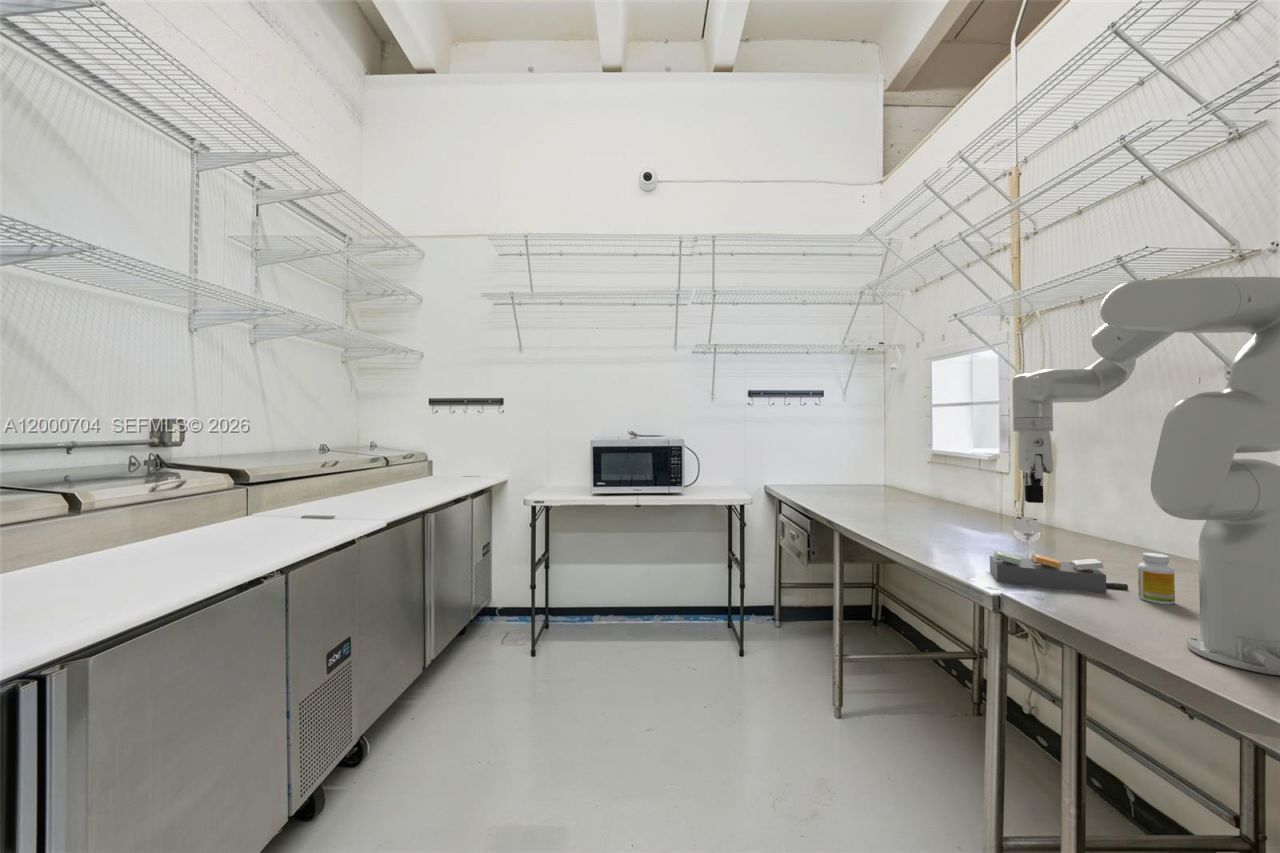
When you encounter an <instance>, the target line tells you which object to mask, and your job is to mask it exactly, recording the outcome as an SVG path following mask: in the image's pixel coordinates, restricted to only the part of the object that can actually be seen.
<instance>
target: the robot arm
mask: <svg viewBox="0 0 1280 853" xmlns="http://www.w3.org/2000/svg"><path fill="white" fill-rule="evenodd" d="M1099 310H1100V317H1101V320H1102V321H1103V322H1104V324H1103V325H1102V326H1100V327H1099V328H1098V329H1096V330H1095V331H1094V332H1093V334H1092V336H1091V340H1090V341H1091V346H1092V348H1093V350H1095V352H1096V353H1097V354H1098V355H1099V357H1101V358H1100V359H1098V360H1097V361H1095V362H1094V363H1092V364H1091V365H1090V366H1088V367H1085V368H1048V369H1041V370H1039V371H1035V372H1033V373H1023V374H1018V375H1014V377H1013V379H1012V431H1013V432H1018V440H1017V443H1018V445H1017V446H1018V449H1017V451H1018V452H1017V455H1018V467H1019V468H1018V469H1019V470H1021V471H1022V472H1024V501H1025V502H1026V503H1031V504H1032V503H1033V504H1043V503H1044V473H1045V474H1052V473H1053V472H1054V464H1053V462H1054V461H1053V460H1054V459H1053V449H1052V448H1053V447H1052V439H1051V434H1050V432H1054V415H1053V414H1054V411H1053V408H1054V407H1053V406H1054V405H1053V404H1054V403H1057V404H1058V403H1061V404H1062V403H1089V402H1093V401H1096V400H1099V399H1102V398H1104V397H1105V396H1107V395H1108V394H1110V393H1112V392H1113V391H1115V390H1116V389H1118V388H1119V387H1121V386H1122V385H1124V384H1125V383H1127V381H1128V380H1129V379H1130V378H1131V376H1132V374H1133V372H1134V370H1135V368H1136V364H1137V363H1136V362H1137V359H1138V358H1140V357H1141V356H1143V355H1144V354H1146V353H1147V352H1149V351H1151V349H1153V348H1155V347H1156V346H1158V345H1159V344H1160V343H1162V342H1163V341H1165V340H1167V339H1168V338H1169V337H1171V336H1172V335H1174V334H1175V333H1185V334H1186V333H1187V334H1204V333H1205V334H1206V333H1207V334H1211V333H1212V334H1215V333H1216V334H1219V333H1220V334H1221V333H1224V334H1226V333H1228V334H1229V333H1246V334H1250V335H1252V338H1251V339H1249V341H1248V342H1247V343H1246V344H1245V345H1244V346H1243V347H1242V348H1241V349H1240V350H1239V352H1238V353H1237V354H1236V355H1235V358H1234V359H1233V361H1232V364H1231V366H1230V371H1229V372H1230V373H1229V377H1228V379H1227V383H1226V386H1225V388H1224V390H1223V391H1205V392H1198V393H1194V394H1191V395H1189V396H1187V397H1185V398H1182V399H1181V400H1179V401H1178V402H1177V403H1176V404H1175V405H1173V407H1172V408H1171V409H1170V411H1169V412H1168V413H1167V414H1166V416H1165V419H1164V420H1163V424H1162V427H1161V428H1162V429H1161V432H1160V436H1159V439H1158V440H1159V441H1158V443H1157V444H1158V445H1157V450H1156V454H1155V459H1154V463H1153V466H1152V472H1151V477H1150V492H1151V496H1152V498H1153V501H1154V502H1155V504H1156V505H1157V506H1158V508H1159V509H1160V510H1162V511H1163V512H1165V514H1168V515H1170V516H1171V517H1174V518H1177V519H1181V520H1188V521H1205V522H1204V524H1203V526H1202V528H1201V531H1200V533H1199V534H1200V535H1199V539H1198V583H1199V584H1198V586H1199V588H1198V589H1199V624H1200V625H1199V626H1200V627H1199V629H1200V631H1199V632H1200V633H1199V634H1198V635H1193V636H1188V637H1187V638H1186V647H1187V648H1188V649H1189V650H1191V652H1193V653H1194V654H1195V653H1196V654H1197V655H1198V656H1201V657H1203V658H1206V659H1209V660H1211V661H1214V662H1217V663H1220V664H1223V665H1227V666H1230V667H1233V668H1236V669H1237V668H1238V669H1242V670H1245V671H1249V672H1250V671H1251V672H1255V673H1261V674H1266V675H1273V676H1279V677H1280V465H1278V464H1276V463H1273V462H1270V461H1266V460H1262V459H1261V460H1260V459H1256V458H1254V459H1253V458H1234V457H1235V454H1250V453H1251V454H1254V453H1255V454H1256V453H1258V454H1259V453H1273V452H1279V451H1280V277H1278V276H1232V277H1231V276H1210V277H1208V276H1205V277H1185V278H1168V279H1167V278H1166V279H1135V280H1134V279H1133V280H1130V281H1126V282H1124V283H1121V284H1119V285H1117V286H1115V287H1114V288H1113V289H1111V290H1110V291H1109V292H1108V293H1107V294H1106V295H1105V297H1104V298H1103V300H1102V302H1101V306H1100V308H1099Z"/></svg>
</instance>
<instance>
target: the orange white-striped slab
mask: <svg viewBox="0 0 1280 853" xmlns="http://www.w3.org/2000/svg"><path fill="white" fill-rule="evenodd" d="M1030 559H1033V560H1034V561H1035V562H1037V563H1040V564H1044V565H1048V566H1052V567H1056V568H1060V566H1061V563H1060V562H1061V561H1059V560H1057V559H1056V558H1052V557H1048V556H1045V555H1040V554H1035V553H1032V554H1031V558H1030Z"/></svg>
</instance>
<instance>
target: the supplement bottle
mask: <svg viewBox="0 0 1280 853" xmlns="http://www.w3.org/2000/svg"><path fill="white" fill-rule="evenodd" d="M1141 559H1142V561H1143V562H1139V564H1138V565H1137V566H1138V567H1137V579H1138V580H1137V584H1138V586H1137V587H1138V590H1137V591H1138V598H1139V599H1141V600H1142V601H1146V602H1149V603H1154V604H1159V605H1174V604H1175V603H1176V597H1175V596H1176V593H1175V592H1176V591H1175V569H1174V568H1173V567H1172V566H1170V565H1168V564H1170V556H1169V555H1166V554H1162V553H1155V552H1143V553H1142V555H1141Z"/></svg>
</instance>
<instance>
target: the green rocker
mask: <svg viewBox="0 0 1280 853" xmlns="http://www.w3.org/2000/svg"><path fill="white" fill-rule="evenodd" d="M993 556H995V557H996V559H999V560H1003V561H1007V562H1010V563H1014V564H1018V565H1020V562H1021V560H1020V559H1019V558H1020V557H1018V556H1017V555H1013V554H1010V553H1006V552H1002V551H998V550H994V554H993Z"/></svg>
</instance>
